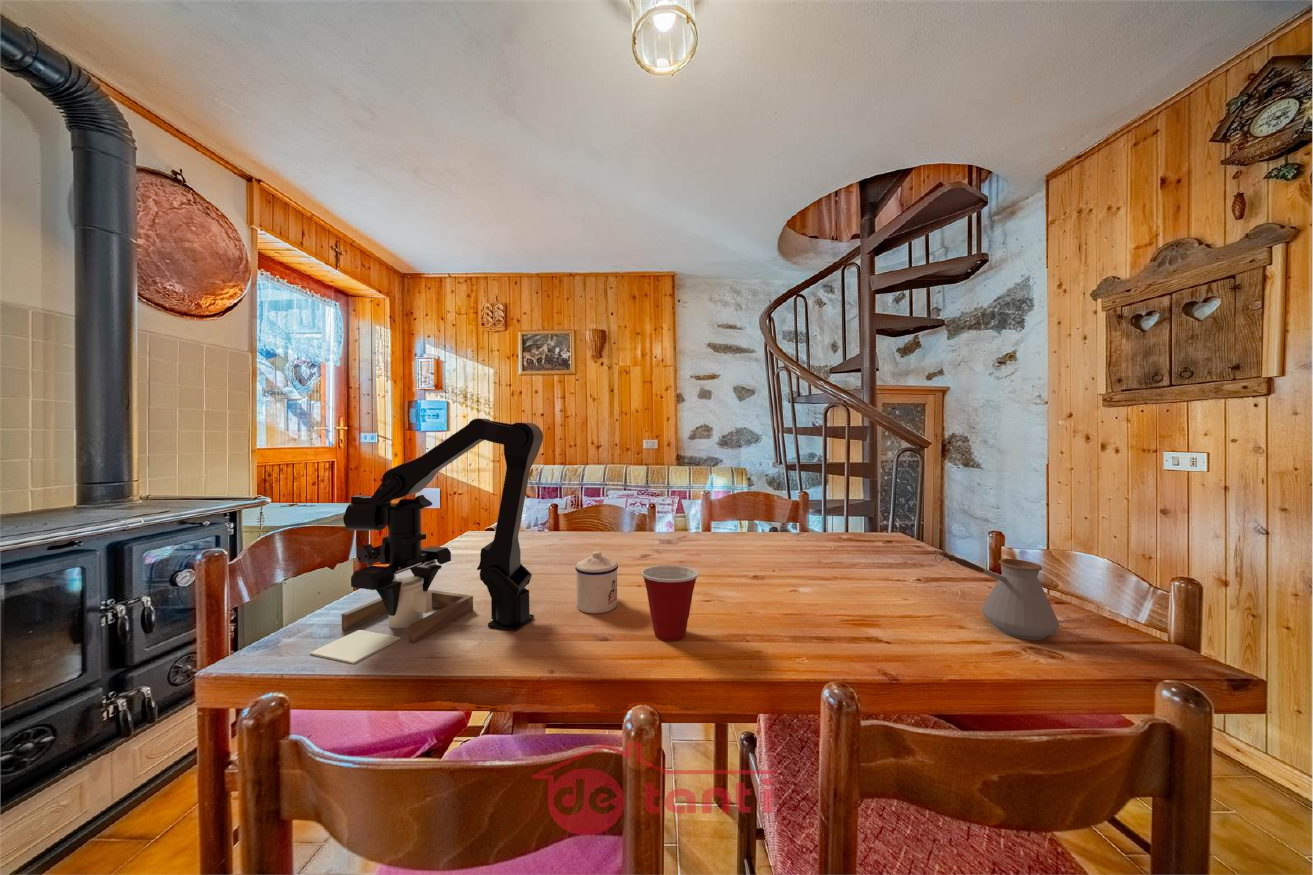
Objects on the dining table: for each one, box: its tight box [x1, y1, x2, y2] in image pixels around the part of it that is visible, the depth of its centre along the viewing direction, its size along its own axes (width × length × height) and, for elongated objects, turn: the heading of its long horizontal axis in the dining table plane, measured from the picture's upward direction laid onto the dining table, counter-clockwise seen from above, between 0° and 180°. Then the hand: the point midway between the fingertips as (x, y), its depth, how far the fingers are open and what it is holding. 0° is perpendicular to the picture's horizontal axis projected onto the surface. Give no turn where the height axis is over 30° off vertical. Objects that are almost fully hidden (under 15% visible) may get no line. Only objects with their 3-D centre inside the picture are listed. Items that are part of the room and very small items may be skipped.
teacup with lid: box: [575, 550, 619, 614], centre depth 99 cm, size 12×9×12 cm
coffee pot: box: [934, 551, 1060, 641], centre depth 86 cm, size 21×12×15 cm, turn 89°
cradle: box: [341, 589, 474, 644], centre depth 90 cm, size 17×15×3 cm
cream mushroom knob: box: [387, 575, 433, 629], centre depth 89 cm, size 9×6×8 cm
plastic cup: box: [640, 565, 700, 642], centre depth 84 cm, size 11×11×12 cm
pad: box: [309, 629, 402, 665], centre depth 79 cm, size 10×9×1 cm
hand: (405, 608), depth 89 cm, fingers closed on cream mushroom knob, 6 cm apart
